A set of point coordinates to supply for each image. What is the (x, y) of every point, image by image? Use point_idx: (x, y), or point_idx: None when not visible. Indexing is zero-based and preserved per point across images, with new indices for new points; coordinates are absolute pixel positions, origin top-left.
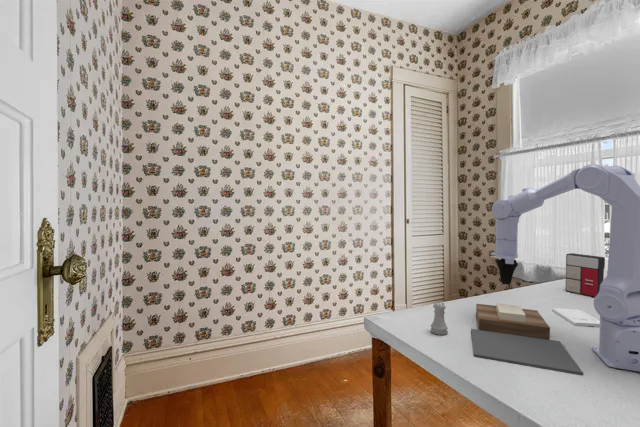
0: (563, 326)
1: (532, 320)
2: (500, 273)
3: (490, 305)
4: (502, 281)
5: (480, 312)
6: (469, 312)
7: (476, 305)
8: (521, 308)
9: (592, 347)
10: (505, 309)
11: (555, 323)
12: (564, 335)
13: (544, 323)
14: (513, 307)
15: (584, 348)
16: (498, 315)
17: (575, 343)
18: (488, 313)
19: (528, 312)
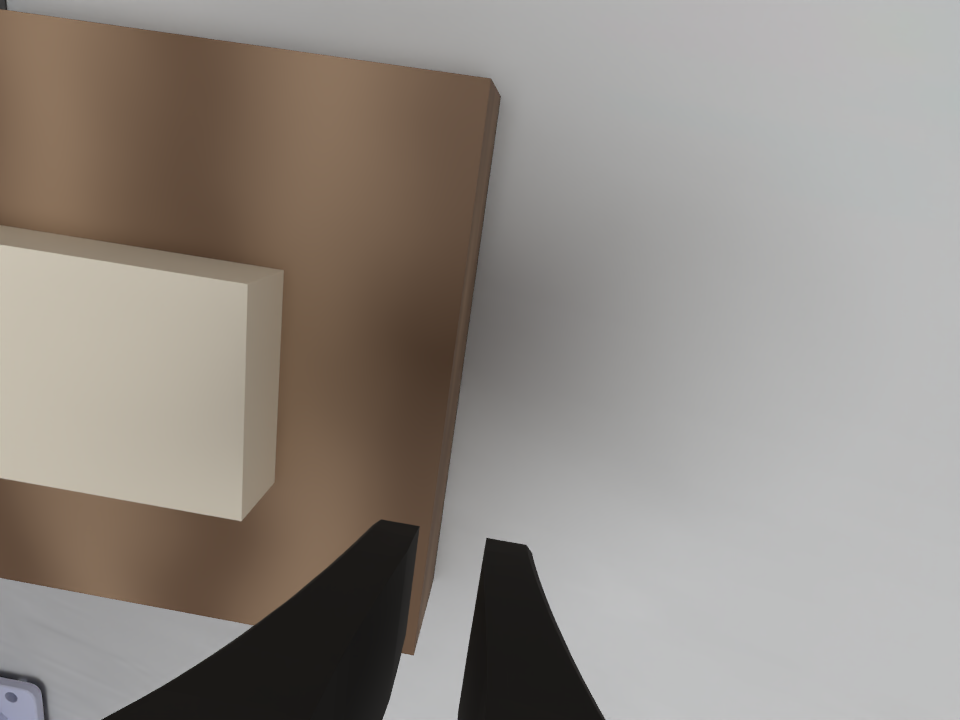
0: (396, 711)
1: (91, 511)
2: (242, 638)
3: (456, 251)
4: (352, 549)
5: (120, 56)
6: (565, 28)
7: (463, 76)
8: (155, 504)
9: (16, 690)
10: (39, 325)
11: (447, 691)
12: (212, 642)
13: (57, 573)
14: (155, 435)
15: (36, 651)
16: (59, 237)
17: (95, 641)
18: (124, 148)
19: (320, 561)
